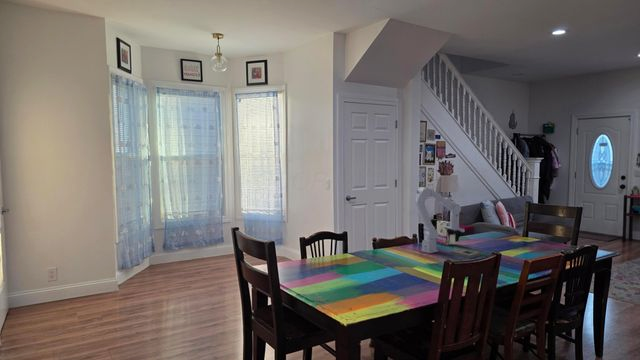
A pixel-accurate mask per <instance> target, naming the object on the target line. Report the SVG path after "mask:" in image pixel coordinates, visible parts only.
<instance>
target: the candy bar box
mask: <svg viewBox="0 0 640 360" xmlns="http://www.w3.org/2000/svg"><path fill="white" fill-rule="evenodd" d="M445 226H450V221H448V220H447V221H446V220H441V219H440V220H437V221H436V231H437V232H438V236H437V238H436V244H440V245H445V246H451V245H452V244H450V239H449V235H448V233H447V230H448V229H444V228H445Z"/></svg>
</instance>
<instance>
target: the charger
mask: <svg viewBox="0 0 640 360" xmlns="http://www.w3.org/2000/svg"><path fill="white" fill-rule="evenodd" d="M450 244H451V245H458V244H459V241H458V242H456V240H455V233H453V234H451V235H450Z"/></svg>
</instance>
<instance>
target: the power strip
mask: <svg viewBox="0 0 640 360" xmlns="http://www.w3.org/2000/svg"><path fill="white" fill-rule="evenodd" d="M450 255H453V256H456V257H462V258H465V259H469V258H470V259H473V258H477V257H480V256H481V252H480V251H475V250H471V249H464V248H457V249H454V250H451V251H450Z"/></svg>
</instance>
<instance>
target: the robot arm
mask: <svg viewBox="0 0 640 360" xmlns="http://www.w3.org/2000/svg"><path fill="white" fill-rule="evenodd" d="M415 195H416V196H415V204H416V207H417V210H418V212H419V214H420V219H421V222H422V224H423V226H422V227H423V228H422V229H423V235H425V236H424V239H423V240H422V242H421V249H420V251H421V252H423V253H427V254H433V253H437V252H439V250H440V249H439V250H438V249H437V242H436V238H437V236H438V232H437V229H436V228H435V226H434V225H433V223H432V220H431V217H430V215H429V212H428V210H427V206H426V204H425V202H426V200H428V199H429V198H431V197H432V198H434V199H436V200H437V201H439V202H440V204H441V205H442V206H443V207H445V208H446V209H448V210H449V211H450V215H449V216H450V217H449V218H450V221H449V222H450V226H445V228H444V229H448V230H447V233H448V235H449V239H450V235H451V234H455V240H456V242H458V243H459V240H460V237H461V235H462V233H465V228H463V227H460V213H461V210H462V207H461V206H460V204H457V203H456V201H452V200H451V198H450V197H443V196H441V195H440V194H439V193H437V192H436V191H435V190H433V189H431V188H429V187H424V186H419V187H418V188H417V190H416V191H415Z"/></svg>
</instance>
